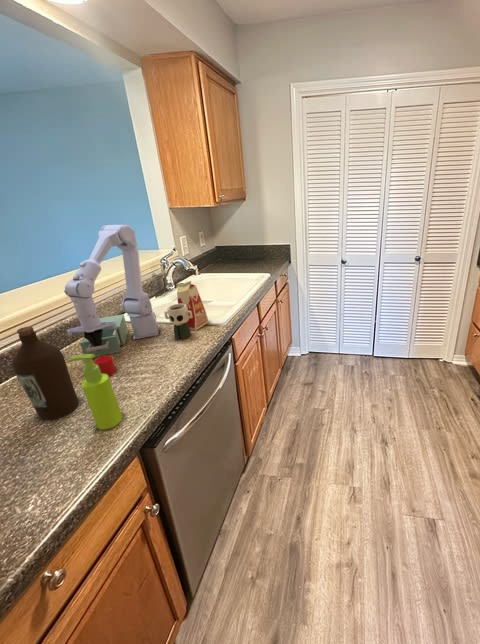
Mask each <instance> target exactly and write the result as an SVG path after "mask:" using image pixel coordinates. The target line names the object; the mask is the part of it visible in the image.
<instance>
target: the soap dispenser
mask: <svg viewBox="0 0 480 644" xmlns="http://www.w3.org/2000/svg"><path fill="white" fill-rule="evenodd" d="M95 357H96V356H95V354H84V353H81V354H76V355H72V356H71V357H70V358H69V359H68V360H67V362H69V363H72V362H76V361H83V363H84V368H83V369H82V372H83V375H84V379H83V380H82V381H81V384H80V386H81V387H82V390H83V393H84V396H85V398H86V401H87V404H88V407H89V409H90V412H91V414H92V416H93V419H94V423H95V425H96V427H97V428H98V429H99V430H109V429H112V428H114V427H116V426H117V425H119V424H120V423H121V422H122V420H123V414H122V412H121V409H120V406H119V403H118V400H117V398H116V394H115V391H114V389H113V388H114V387H113V386H112V382H111V379H110V375H109V376H108V375H107V374H101V371H100V368H99V366H98V365H97V364H95V363H94V361H93V359H94V358H95Z"/></svg>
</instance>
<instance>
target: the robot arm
mask: <svg viewBox="0 0 480 644" xmlns="http://www.w3.org/2000/svg"><path fill="white" fill-rule="evenodd" d="M97 235H98V239H97V241H96V244H95V246H94V248H93V250H92V252H91V254H90V256H89V258H88V259H85V260H83V261H81V262H80V263H79V268H78V270H76V273H75V274H74V275H73V277H72V279H70V280H68V281H67V282H66V284H65V286H64V290H63V292H64V294H65V295H66V296H67V297H69V298H70V301H71V302H72V304H73V307H74V309H75V312H76V313H75V314H76V315H77V318H78V321H79V323H80V325H79V326H75V327H72V328H68V329H67V330H66V333H67V336H68V337H72V336H74V335H80V334H82V333H84V337H85V338H86V339H87V340H88V341H89V342H90V343H91V344H92V345H93V346H94V347H96V346H102V333H103V330H104V329H110V328H113V329H114V328H116V327H117V325H116V321H113V322H100V319H99V318H100V316H99V313H98V311H97V307H96V304H95V301H94V298H93V294H94V293H95V282H96V280H97V278H98V276H99V275H100V273H101V271H102V266H101V264H102V262H103V260H104V259H105V257H106V256H107V254H108V253H109V251H110V250H111V249H112V248H113V247H117V248H118V249H119V250H121V251H122V252H121V253H122V260H123V269H124V278H125V286H126V292H125V293H124V294H123V295H122V303H121V308H122V311H123V312H124V313H126V315H127V316H128V317H129V321H130V324H131V327H132V331H133V336H132V340H138V339H144V338H149V337H155V336H159V324H158V321H157V316H156V314H155V311H153V312H150V311H151V306H152V303H151V299H150V296H149V295H148V293H147V292H145V291H144V290H143V283H142V274H141V273H142V272H141V264H140V254H139V245H138V242H137V238H136V237H137V236H136V231H135V230H134V228H132V227H131V226H130V225H129V224H125V223H124V224H104V225H103V226H101V228H100V230H99V232H98V233H97ZM146 293H147V294H146ZM149 299H150V300H149ZM97 351H100V350H97Z"/></svg>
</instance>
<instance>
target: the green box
mask: <svg viewBox="0 0 480 644" xmlns="http://www.w3.org/2000/svg"><path fill="white" fill-rule="evenodd" d="M99 319H100V322H113V321H116V325H117V327H116V328H114V329H118V331H119V334H120V338H121V342H120V345H119V346H125V345H126V341H127V339H128V334H129V329H128V325H127V322H126V318H125V315H124V314H117V315H110V316H104V317H99ZM108 330H113V328H110V329H104V330H103V331H108ZM81 334H82V338H83V340H84V339H85V337H84V333H81Z"/></svg>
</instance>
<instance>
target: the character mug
mask: <svg viewBox="0 0 480 644" xmlns="http://www.w3.org/2000/svg"><path fill="white" fill-rule="evenodd" d="M166 310H167V311H164V312H163V313H164V318H165V319H166V320H169V322H170V324H172V325H173V334H174V338H175V339H177V340H182V339H187V338H189V337H190V336H191V334H192V332H191V329H189V326H188V324H187V321H188V320H189V318H193V316H192V311H187V306H186V305H185V304H178V303H175V304H171V305H169V306H168V307H167V309H166ZM188 313H190V316H188Z"/></svg>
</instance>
